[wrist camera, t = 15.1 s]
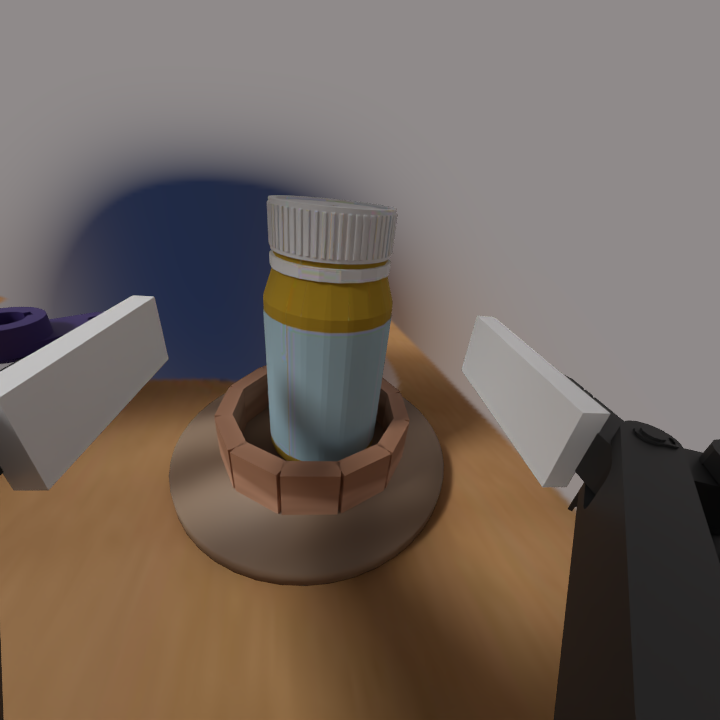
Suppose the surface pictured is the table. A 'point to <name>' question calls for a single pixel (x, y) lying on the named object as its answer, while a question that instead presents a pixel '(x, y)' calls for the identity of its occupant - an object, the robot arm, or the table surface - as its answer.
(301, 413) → the bottle
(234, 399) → the bottle holder
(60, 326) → the lever
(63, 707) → the table surface
